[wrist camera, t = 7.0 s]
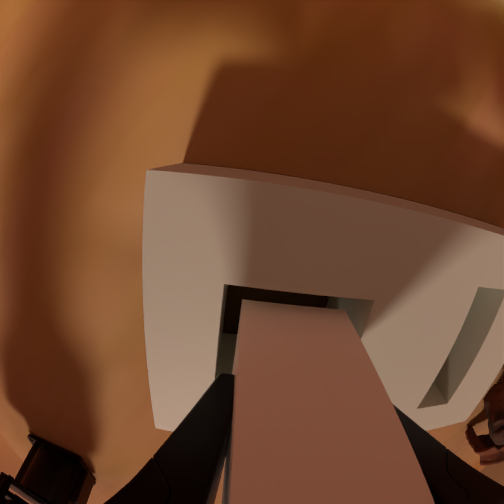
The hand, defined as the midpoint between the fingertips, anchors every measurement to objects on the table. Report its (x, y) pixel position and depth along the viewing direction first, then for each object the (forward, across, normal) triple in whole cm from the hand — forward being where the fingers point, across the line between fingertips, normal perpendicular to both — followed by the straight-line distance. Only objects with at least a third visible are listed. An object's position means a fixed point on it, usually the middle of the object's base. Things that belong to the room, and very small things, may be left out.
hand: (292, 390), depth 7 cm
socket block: (+6, -4, 0) cm, 7 cm away
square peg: (+2, 0, 0) cm, 2 cm away
